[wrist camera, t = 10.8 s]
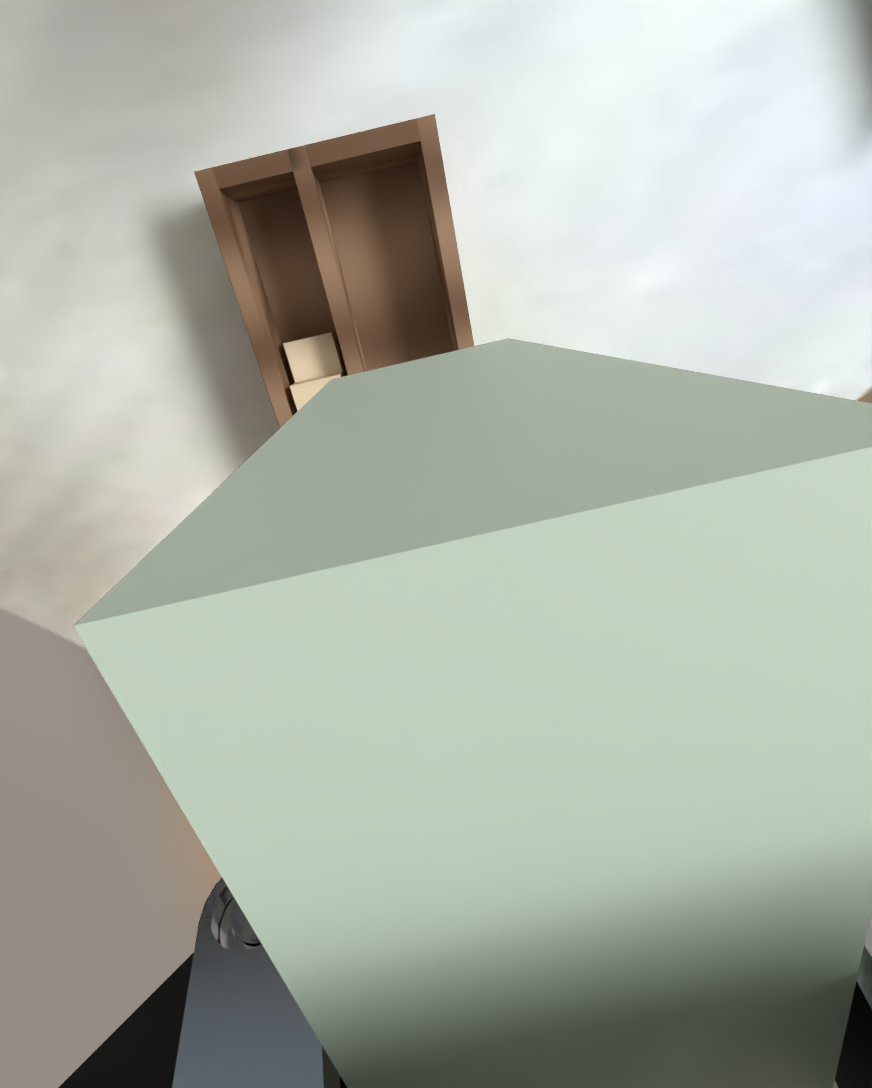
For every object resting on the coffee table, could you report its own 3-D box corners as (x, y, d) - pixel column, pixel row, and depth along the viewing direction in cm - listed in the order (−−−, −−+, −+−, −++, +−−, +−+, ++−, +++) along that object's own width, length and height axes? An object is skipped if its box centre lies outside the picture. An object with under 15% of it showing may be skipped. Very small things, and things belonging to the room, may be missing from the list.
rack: (223, 193, 27) (194, 171, 23) (428, 144, 26) (434, 114, 22) (366, 639, 38) (363, 676, 34) (511, 607, 38) (524, 640, 34)
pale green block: (331, 379, 11) (70, 626, 2) (508, 338, 11) (977, 423, 2) (435, 745, 16) (489, 1325, 7) (562, 717, 16) (793, 1266, 7)
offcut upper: (295, 382, 28) (289, 386, 26) (342, 371, 28) (339, 374, 26) (332, 503, 31) (329, 512, 29) (375, 493, 31) (374, 502, 29)
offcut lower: (288, 342, 28) (282, 343, 27) (334, 331, 28) (331, 332, 27) (335, 494, 32) (332, 503, 31) (376, 485, 32) (375, 493, 31)
